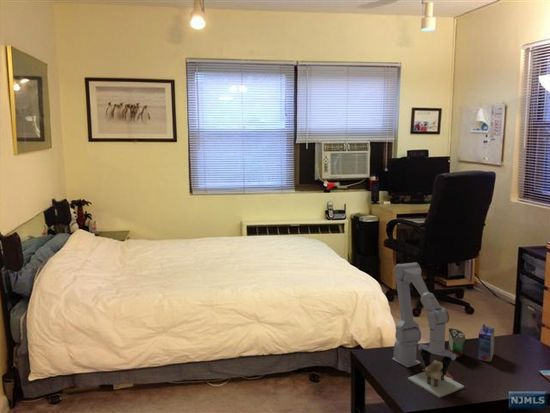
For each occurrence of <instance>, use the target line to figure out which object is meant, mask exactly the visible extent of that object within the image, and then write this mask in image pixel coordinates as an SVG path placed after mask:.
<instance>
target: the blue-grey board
mask: <svg viewBox="0 0 550 413" xmlns="http://www.w3.org/2000/svg"><path fill="white" fill-rule="evenodd" d="M407 380H408V381H410V382H411V383H413V384H415V385H417V386H418V387H419V388H422V389H423V388H424V389H423V390H424V391H427V392H429V393H430V394H432V395H434V396H436V397H437V398H443V397H444V396H447V395H450V394H452V393H455V392H457V391H460V390H462V389H464V388H465V385H463V384H461V383H459V382H457V381H456V380H454V379H452V378H450V377H448V376H446V375H444V380H441V377H440V378H439V379H438V386H437V387H435V386H434V378H431V384H427V376H425V371H422V372H420V373H417V374H414V375H412V376H409V377H407Z"/></svg>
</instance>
